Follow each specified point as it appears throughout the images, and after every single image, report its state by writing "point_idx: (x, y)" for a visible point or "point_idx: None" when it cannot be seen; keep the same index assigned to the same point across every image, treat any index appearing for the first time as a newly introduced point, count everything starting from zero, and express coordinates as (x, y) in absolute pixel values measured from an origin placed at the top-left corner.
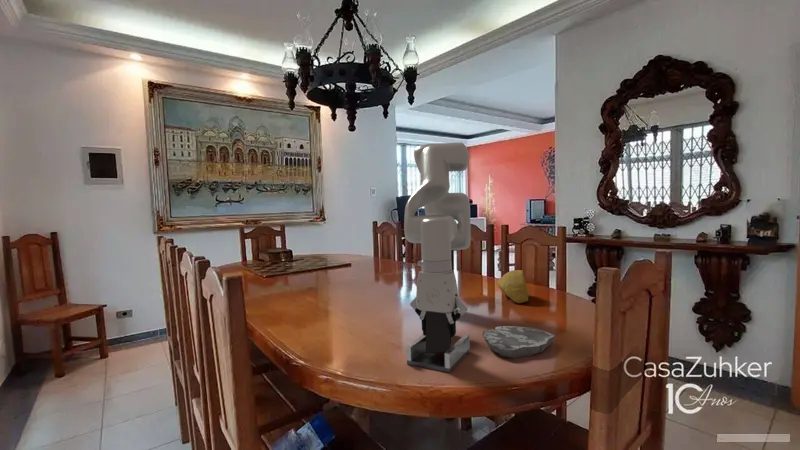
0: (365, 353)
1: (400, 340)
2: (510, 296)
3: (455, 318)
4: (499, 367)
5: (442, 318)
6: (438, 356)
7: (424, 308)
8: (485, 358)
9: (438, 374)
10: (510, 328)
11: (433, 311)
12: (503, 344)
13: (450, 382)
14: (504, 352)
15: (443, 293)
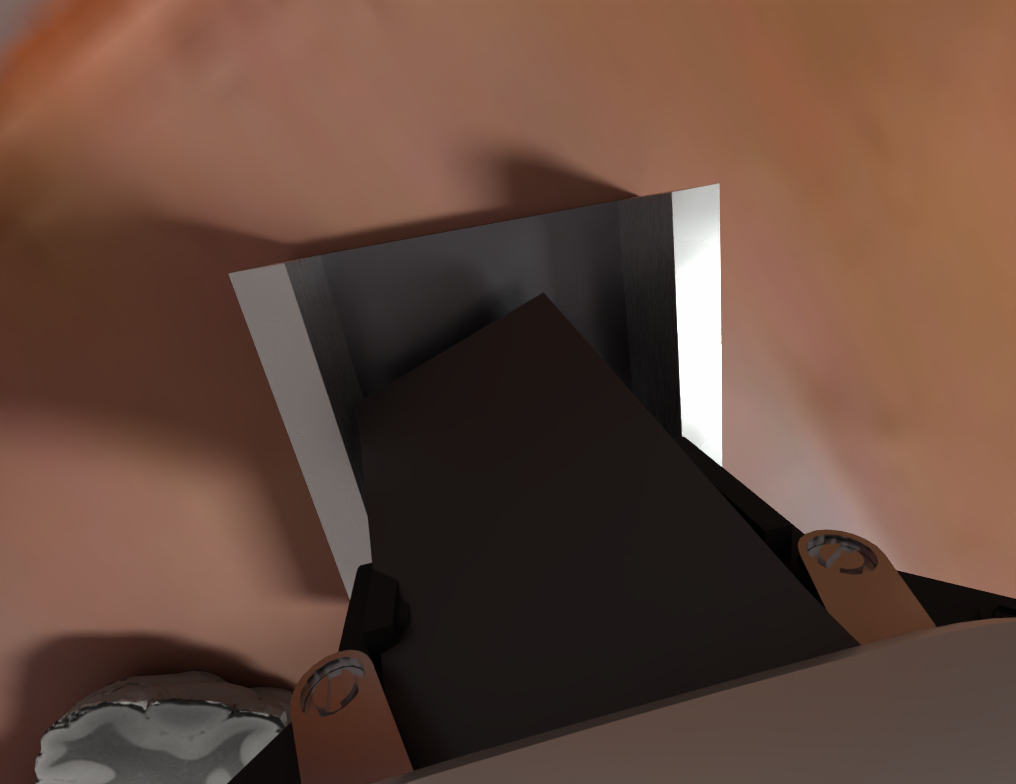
0: (994, 178)
1: (864, 488)
2: None
3: (264, 781)
4: (81, 536)
5: (493, 675)
6: None
7: (959, 684)
8: (254, 588)
9: (339, 184)
10: None
11: (669, 704)
12: (171, 760)
13: (163, 109)
14: (122, 687)
15: None
